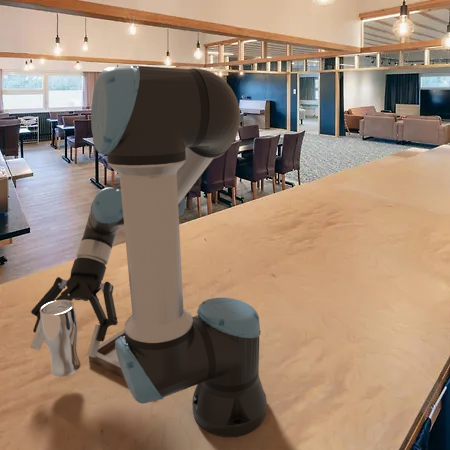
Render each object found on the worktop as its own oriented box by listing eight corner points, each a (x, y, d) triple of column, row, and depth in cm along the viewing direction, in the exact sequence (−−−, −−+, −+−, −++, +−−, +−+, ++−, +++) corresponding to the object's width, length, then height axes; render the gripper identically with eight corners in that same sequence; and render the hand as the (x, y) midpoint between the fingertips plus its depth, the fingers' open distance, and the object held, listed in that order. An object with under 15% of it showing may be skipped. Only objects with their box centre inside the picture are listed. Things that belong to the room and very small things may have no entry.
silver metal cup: (71, 354, 91) (63, 296, 87) (89, 366, 87) (81, 305, 82) (42, 369, 86) (32, 308, 81) (59, 383, 82) (49, 319, 77)
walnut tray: (203, 345, 102) (203, 336, 101) (150, 391, 85) (150, 381, 85) (146, 323, 112) (145, 315, 111) (89, 361, 96) (88, 352, 95)
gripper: (144, 271, 96) (122, 362, 86) (53, 264, 101) (22, 349, 91) (134, 259, 89) (108, 356, 80) (36, 252, 94) (1, 342, 85)
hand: (62, 352), depth 85 cm, fingers open, 13 cm apart
